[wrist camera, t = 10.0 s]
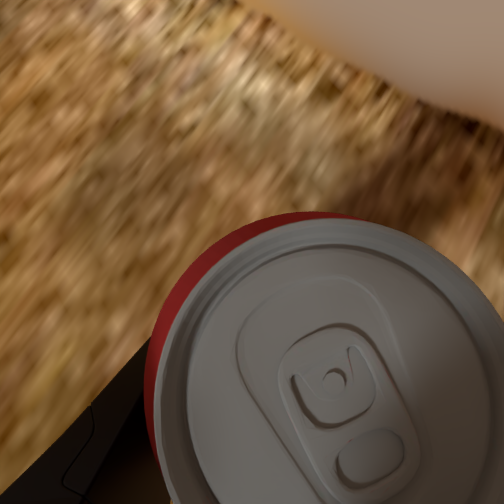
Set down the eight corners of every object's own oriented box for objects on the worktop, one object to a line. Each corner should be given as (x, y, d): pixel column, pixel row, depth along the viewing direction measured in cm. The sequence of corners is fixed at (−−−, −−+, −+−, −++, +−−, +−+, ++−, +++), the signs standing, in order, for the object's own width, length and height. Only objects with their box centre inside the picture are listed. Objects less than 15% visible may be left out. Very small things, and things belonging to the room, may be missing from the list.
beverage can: (304, 254, 17) (422, 114, 5) (365, 373, 16) (696, 533, 4) (189, 308, 16) (37, 282, 5) (243, 437, 15) (221, 836, 3)
